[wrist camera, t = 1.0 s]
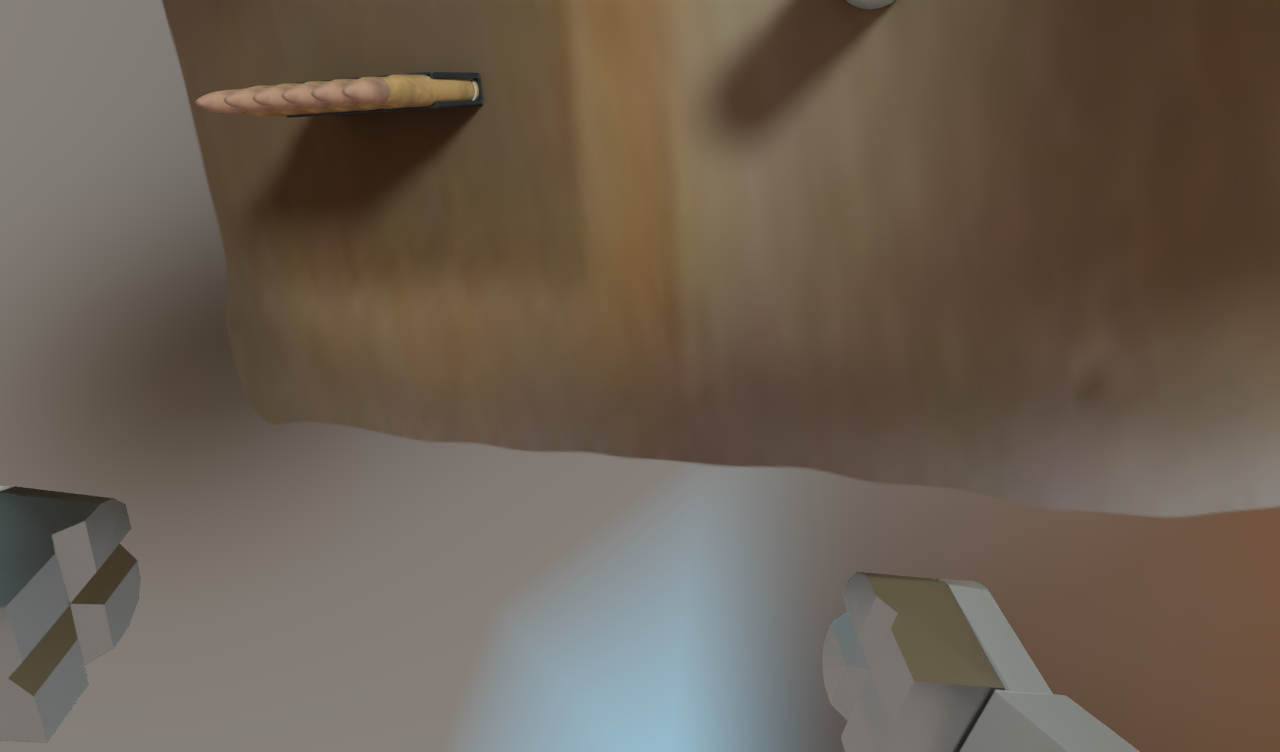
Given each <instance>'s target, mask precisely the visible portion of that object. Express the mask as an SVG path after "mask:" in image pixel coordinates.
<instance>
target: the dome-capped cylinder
mask: <svg viewBox="0 0 1280 752" xmlns="http://www.w3.org/2000/svg"><path fill="white" fill-rule="evenodd" d="M846 1H847V2H848V3H850V4H851V5H853V6H855V7H858V8H861V9H878V8H882V7H885V6H887V5H889V4H891V3H893V2H894V1H895V0H846Z"/></svg>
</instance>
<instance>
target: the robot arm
mask: <svg viewBox="0 0 1280 752" xmlns="http://www.w3.org/2000/svg"><path fill="white" fill-rule="evenodd" d="M130 530H131V525H130V521H129V517H128V513H127V509H126V505H125V504H124V503H122V502H120V501H118V500H116V499H114V498H106V497H99V496H90V495H82V494H74V493H66V492H57V491H49V490H41V489H33V488H24V487H16V486H14V487H7V486H0V741H16V742H48V741H49V739H50V738H51V737H52V735H53V734H54V733H55V731H56V730H57V728H58V727H59V725H60V724H61V723H62V721H63V720H64V718H65V717H66V716H67V714H68V713H69V711H70V710H71V709H72V707H73V705H74V704H75V703H76V701H77V700H78V698H79V697H80V696H81V694H82V693H83V692H84V690H85V689H86V687H87V686H88V679H87V674H86V669H85V665H86V664H88V663H90V662H92V661H93V660H95V659H97V658H99V657H100V656H102V655H104V654H105V653H107V652H109V651H111V650H112V649H114V647H115V646H116V644H117V643H118V641H119V640H120V639H121V637H122V636H123V634H124V632H125V631H126V629H127V628H128V627H129V624H130V621H131V619H132V616H133V613H134V611H135V608H136V605H137V602H138V599H139V587H140V574H139V567H138V561H137V560H136V559H135V558H134V557H133V556H132V555H131V554H130V553H129V552H128V551H127V550H126V549H125V548H124V547H123V546H122V545H121V544H120V542H121V541H122V540H123V539H124V537H125V536H126V535H127V533H128V532H129V531H130ZM842 597H843V600H844V602H845V605H846V608H847V610H848V611H847V612H846V613H845V614H843V615H842V616H840V617H839V618H837V619H836V620H835V621H833V622H832V623H831V625H830V628H829V630H828V633H827V636H826V639H825V642H824V650H823V663H822V668H823V675H824V684H825V687H826V691H827V694H828V697H829V701H830V704H831V705H832V706H833V707H834V708H835V709H836V710H837V711H838V712H839V713H840V714H841V715H842V716H843V717H844V718H846V720H847V721H848V722H847V725H846V727H845V729H844V732H843V734H842V736H841V740H842V743H843V746H844V749H845V752H1140V751H1138V750H1137V749H1136V748H1134V747H1133V746H1132V745H1130V744H1129V743H1128V742H1126V741H1125V740H1124V739H1122V738H1121V737H1119V736H1118V735H1117V734H1116V733H1114V732H1113V731H1112V730H1111V729H1109V728H1108V727H1107V726H1105V725H1104V724H1102V723H1101V722H1100V721H1099V720H1097V719H1096V718H1095V717H1093V716H1092V715H1090V714H1089V713H1088V712H1087V711H1085V710H1084V709H1083V708H1081V707H1080V706H1079V705H1078V704H1076V703H1075V702H1074V701H1072V700H1071V699H1070V698H1068V697H1067V696H1064V695H1054V694H1052V692H1051V691H1050V689H1049V687H1048V686H1047V684H1046V683H1045V681H1044V679H1043V678H1042V676H1041V674H1040V673H1039V671H1038V670H1037V668H1036V667H1035V665H1034V663H1033V662H1032V660H1031V658H1030V657H1029V655H1028V653H1027V652H1026V650H1025V649H1024V647H1023V645H1022V644H1021V642H1020V641H1019V639H1018V638H1017V636H1016V634H1015V633H1014V631H1013V630H1012V628H1011V626H1010V625H1009V623H1008V621H1007V620H1006V618H1005V617H1004V615H1003V614H1002V612H1001V610H1000V609H999V607H998V605H997V604H996V602H995V601H994V599H993V597H992V596H991V594H990V592H989V591H988V590H987V589H986V588H985V587H984V586H982V585H981V584H980V583H978V582H974V581H963V580H962V581H961V580H950V579H935V580H934V579H929V578H918V577H907V576H896V575H886V574H885V575H884V574H875V573H864V572H856V573H855V574H854V575H853V576H852V577H851V578H850V579H849V581H848V583H847V586H846V588H845V590H844V593H843V595H842Z"/></svg>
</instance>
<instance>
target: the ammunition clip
mask: <svg viewBox="0 0 1280 752" xmlns="http://www.w3.org/2000/svg"><path fill="white" fill-rule="evenodd" d="M196 104H197V105H198V106H200V107H202V108H204V109H207V110H211V111H215V112H220V113H241V114H254V115H258V116H283V115H286V116H287V117H307V116H326V115H344V114H360V113H375V112H391V111H406V110H421V109H437V108H452V107H467V106H482V105H483V97H482V89H481V81H480V74H478V73H454V72H424V73H411V74H398V75H387V76H375V77H362V78H350V79H336V80H325V81H312V82H301V83H287V84H280V85H265V86H254V87H250V88H247V89H236V90H224V91H217V92H212V93H209V94H206V95H204V96H202V97H200V98H199V99H197V100H196Z"/></svg>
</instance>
